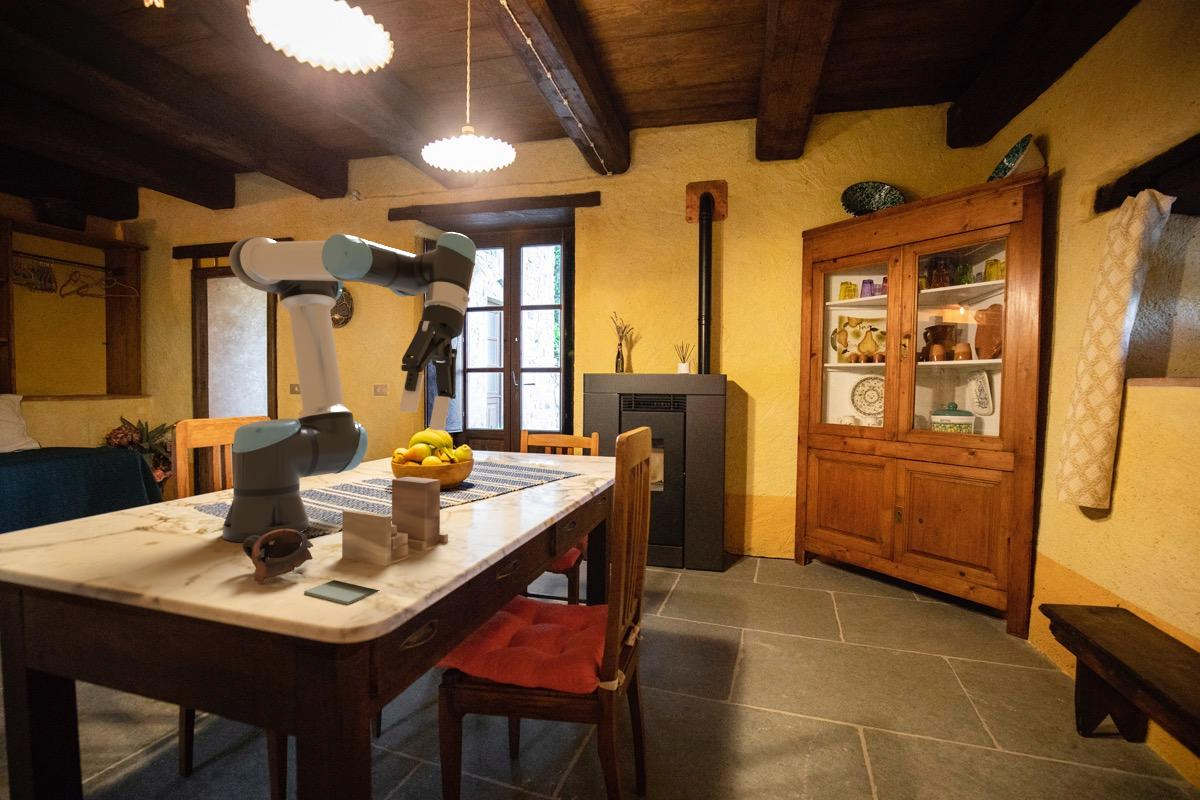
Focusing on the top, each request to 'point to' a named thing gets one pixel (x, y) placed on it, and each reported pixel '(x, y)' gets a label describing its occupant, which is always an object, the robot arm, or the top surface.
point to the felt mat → (340, 591)
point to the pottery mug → (277, 552)
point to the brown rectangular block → (417, 508)
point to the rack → (378, 539)
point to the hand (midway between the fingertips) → (423, 421)
